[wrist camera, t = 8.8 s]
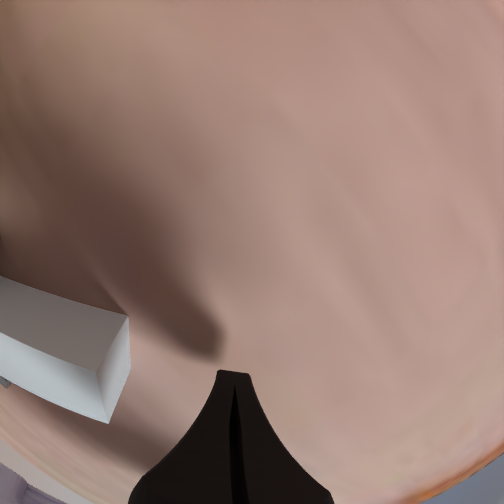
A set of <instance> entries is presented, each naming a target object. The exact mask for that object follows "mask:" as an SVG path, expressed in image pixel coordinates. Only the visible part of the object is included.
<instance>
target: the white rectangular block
mask: <svg viewBox="0 0 504 504" xmlns="http://www.w3.org/2000/svg"><path fill="white" fill-rule="evenodd" d="M130 370H131V363H130V348H129V324H128V316H127V315H123V314H119V313H116V312H112V311H108V310H104V309H101V308H97V307H93V306H90V305H86V304H83V303H79V302H76V301H73V300H69V299H66V298H63V297H60V296H57V295H53V294H50V293H47V292H44V291H41V290H38V289H35V288H33V287H30V286H27V285H24V284H21V283H19V282H16V281H13V280H10V279H8V278H5V277H3V276H0V376H2V377H3V378H5V379H7V380H9V381H10V382H12V383H14V384H16V385H18V386H20V387H21V388H23V389H25V390H27V391H29V392H31V393H33V394H35V395H37V396H39V397H41V398H43V399H46V400H48V401H50V402H52V403H54V404H57V405H59V406H61V407H64V408H66V409H69V410H71V411H74V412H76V413H79V414H81V415H84V416H87V417H89V418H92V419H95V420H98V421H101V422H104V423H107V424H109V422H110V419H111V416H112V414H113V411H114V409H115V406H116V404H117V401H118V399H119V397H120V394H121V392H122V389H123V387H124V384H125V382H126V380H127V377H128V375H129V373H130Z"/></svg>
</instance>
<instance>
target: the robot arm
mask: <svg viewBox="0 0 504 504" xmlns="http://www.w3.org/2000/svg"><path fill="white" fill-rule="evenodd" d="M0 504H67V503H65V502H62V501H60V500H58V499H56V498H54V497H52V496H50V495H48V494H46V493H44V492H43V491H41V490H39V489H37V488H35V487H33V486H32V485H30V484H28V483H27V482H26V480H25V479H23V478H22V477H21V476H20V475H18V474H17V473H16V472H14V471H13V470H11V469H9V468H8V467H6V466H5V465H3V464H2V463H0ZM128 504H334V501H333V498H332V496H331V493H330V492H329V491H328V490H327V489H325V488H324V487H323V486H322V485H320V484H319V483H318V482H317V481H316V480H315V479H313V478H312V477H311V476H310V475H309V474H308V473H307V472H306V471H305V470H304V469H303V468H302V467H301V466H300V464H299V463H298V462H297V461H296V460H295V459H294V458H293V457H292V456H291V454H290V453H289V452H288V450H287V449H286V448H285V447H284V445H283V444H282V442H281V441H280V439H279V438H278V436H277V435H276V433H275V432H274V430H273V428H272V427H271V425H270V423H269V421H268V419H267V417H266V415H265V413H264V411H263V409H262V407H261V405H260V403H259V400H258V398H257V395H256V393H255V390H254V387H253V384H252V380H251V377H250V375H249V374H248V373H241V372H233V371H227V370H218V371H217V375H216V380H215V383H214V386H213V388H212V391H211V393H210V395H209V397H208V399H207V401H206V403H205V405H204V407H203V409H202V410H201V412H200V414H199V415H198V417H197V418H196V420H195V421H194V423H193V424H192V426H191V427H190V429H189V430H188V431H187V433H186V434H185V435H184V436H183V438H182V439H181V440H180V441H179V442H178V444H177V445H176V446H175V447H174V448H173V449H172V450H171V451H170V452H169V453H168V454H167V455H166V456H165V457H164V458H163V459H162V460H161V461H160V462H159V463H158V464H157V465H156V466H154V467H153V468H152V469H151V470H150V471H148V472H147V473H146V474H145V475H143V476H142V478H141V479H140V480H139V482H138V483H137V485H136V486H135V487H134V489H133V491H132V493H131V495H130V497H129V501H128Z"/></svg>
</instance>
